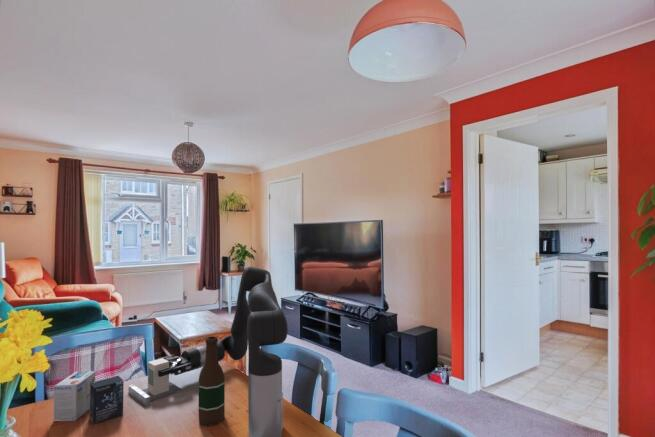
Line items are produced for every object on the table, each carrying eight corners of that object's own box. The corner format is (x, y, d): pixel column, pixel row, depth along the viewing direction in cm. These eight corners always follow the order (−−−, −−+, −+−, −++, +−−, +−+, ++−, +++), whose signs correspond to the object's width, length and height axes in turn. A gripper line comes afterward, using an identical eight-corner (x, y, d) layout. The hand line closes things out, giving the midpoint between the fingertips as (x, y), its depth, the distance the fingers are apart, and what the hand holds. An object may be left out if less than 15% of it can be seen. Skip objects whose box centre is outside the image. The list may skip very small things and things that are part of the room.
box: (93, 424, 107) (94, 387, 107) (89, 417, 111) (89, 382, 111) (123, 415, 112) (124, 380, 113) (118, 408, 117) (118, 374, 117)
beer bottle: (203, 412, 114) (203, 333, 114) (228, 412, 113) (228, 333, 114) (193, 426, 106) (193, 341, 106) (220, 426, 106) (220, 341, 106)
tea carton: (168, 390, 128) (168, 361, 129) (153, 395, 124) (153, 365, 125) (162, 386, 132) (162, 358, 132) (147, 391, 128) (147, 362, 128)
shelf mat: (169, 382, 136) (169, 381, 136) (182, 390, 129) (182, 389, 129) (134, 393, 127) (134, 392, 127) (146, 402, 120) (146, 401, 120)
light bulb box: (74, 405, 119) (74, 371, 119) (95, 404, 120) (96, 370, 120) (52, 422, 109) (52, 385, 109) (76, 421, 109) (76, 384, 109)
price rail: (134, 391, 129) (134, 383, 129) (151, 403, 120) (151, 396, 120) (128, 393, 127) (128, 385, 128) (145, 405, 118) (145, 398, 118)
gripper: (187, 343, 144) (144, 354, 132) (207, 352, 134) (162, 364, 122) (187, 363, 144) (144, 376, 132) (207, 372, 134) (162, 387, 122)
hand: (153, 370), depth 127 cm, fingers open, 8 cm apart
